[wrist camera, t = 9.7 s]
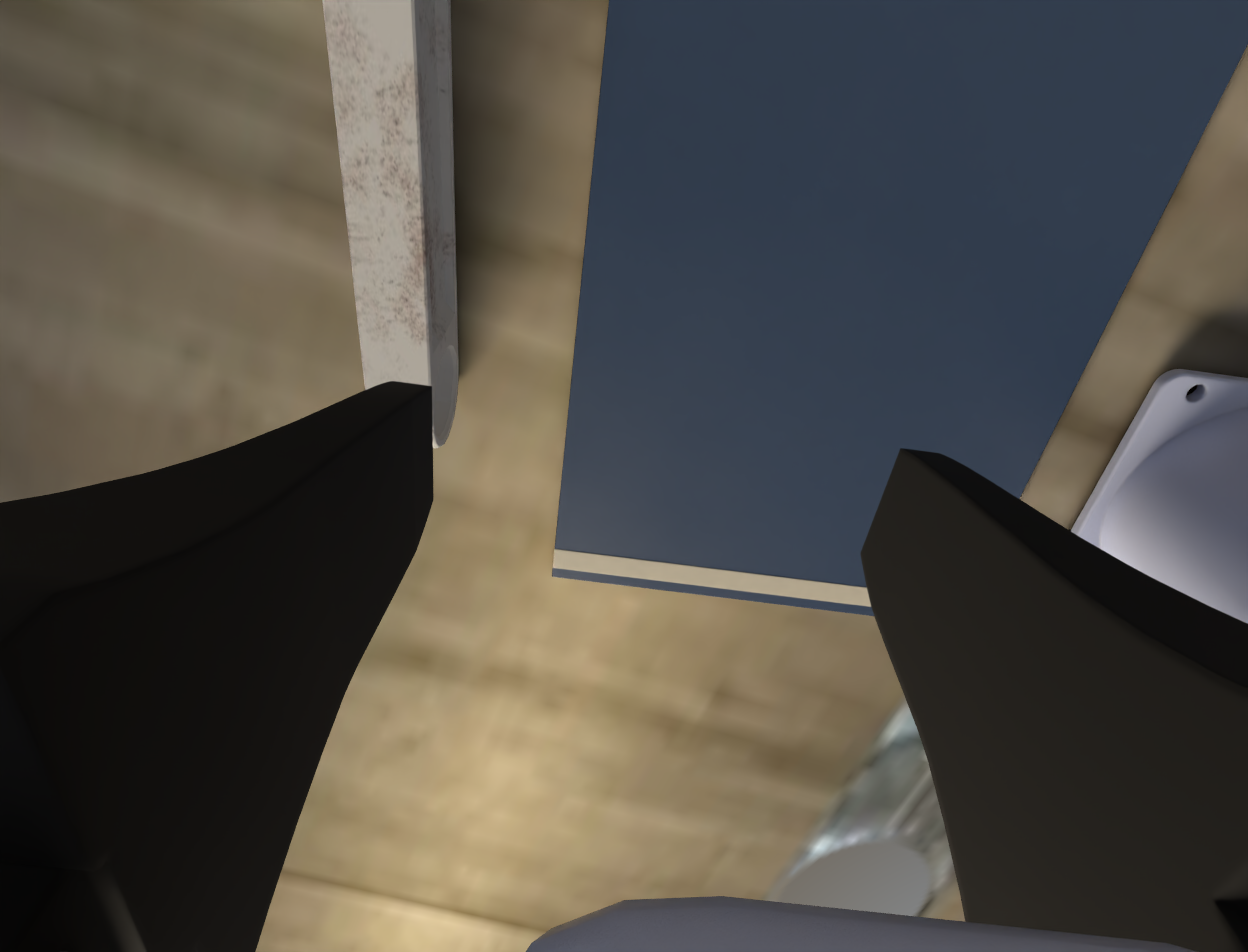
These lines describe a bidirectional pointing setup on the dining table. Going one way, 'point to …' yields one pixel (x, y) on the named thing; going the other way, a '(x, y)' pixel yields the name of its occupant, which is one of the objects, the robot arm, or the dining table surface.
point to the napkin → (852, 262)
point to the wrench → (399, 189)
